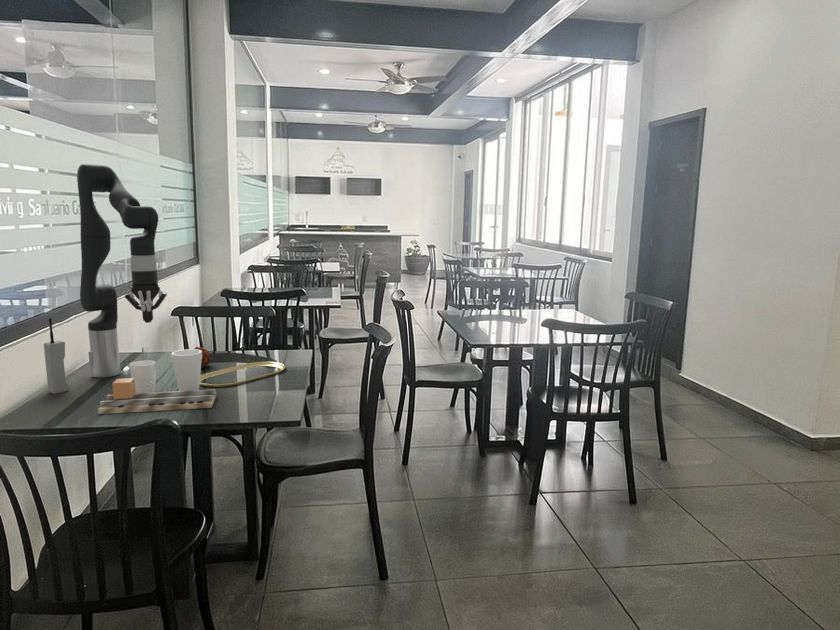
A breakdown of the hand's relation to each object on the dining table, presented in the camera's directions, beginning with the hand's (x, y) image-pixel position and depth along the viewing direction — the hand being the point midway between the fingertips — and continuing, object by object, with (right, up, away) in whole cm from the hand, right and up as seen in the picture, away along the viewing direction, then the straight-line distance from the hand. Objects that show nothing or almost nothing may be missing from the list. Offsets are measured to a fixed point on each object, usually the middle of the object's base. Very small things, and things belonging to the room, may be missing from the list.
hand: (148, 322), depth 196 cm
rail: (+8, -26, -9) cm, 28 cm away
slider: (-2, -24, -12) cm, 27 cm away
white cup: (-3, -24, +4) cm, 24 cm away
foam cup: (+11, -23, +6) cm, 26 cm away
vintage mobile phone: (-31, -23, +4) cm, 39 cm away
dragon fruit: (+3, -18, +37) cm, 41 cm away
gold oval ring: (+23, -21, +25) cm, 40 cm away
